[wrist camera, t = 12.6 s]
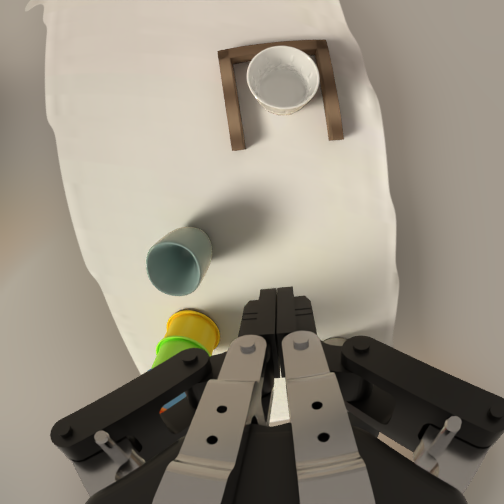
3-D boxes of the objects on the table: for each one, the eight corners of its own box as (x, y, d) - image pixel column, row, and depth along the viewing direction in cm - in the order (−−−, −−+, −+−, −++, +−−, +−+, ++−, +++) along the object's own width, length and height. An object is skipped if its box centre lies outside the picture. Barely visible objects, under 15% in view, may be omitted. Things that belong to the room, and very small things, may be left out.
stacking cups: (229, 324, 48) (179, 515, 16) (208, 359, 52) (159, 520, 19) (177, 299, 47) (79, 471, 15) (161, 336, 51) (83, 487, 19)
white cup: (316, 112, 35) (329, 99, 26) (263, 126, 36) (260, 117, 27) (298, 64, 32) (305, 39, 23) (246, 78, 34) (237, 56, 25)
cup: (169, 220, 42) (141, 240, 33) (217, 221, 42) (199, 242, 33) (172, 265, 45) (148, 294, 36) (218, 268, 45) (203, 299, 35)
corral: (338, 140, 36) (343, 139, 33) (235, 150, 38) (232, 150, 35) (322, 46, 31) (325, 39, 28) (221, 57, 33) (217, 51, 30)
